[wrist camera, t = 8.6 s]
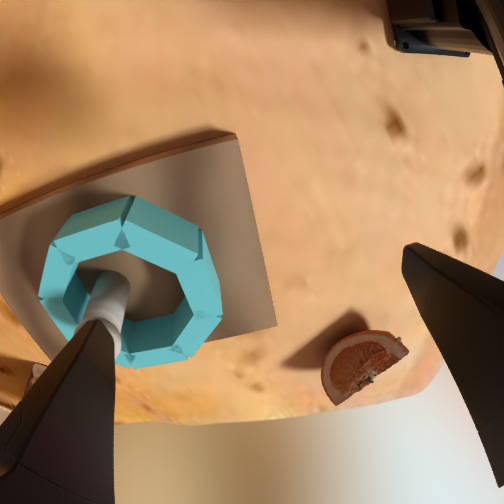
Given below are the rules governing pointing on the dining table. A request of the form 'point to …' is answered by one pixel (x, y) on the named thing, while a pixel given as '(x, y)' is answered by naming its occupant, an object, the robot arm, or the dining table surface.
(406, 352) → the fruit slice
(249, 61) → the dining table surface
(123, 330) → the teal octagonal ring
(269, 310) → the hook board
